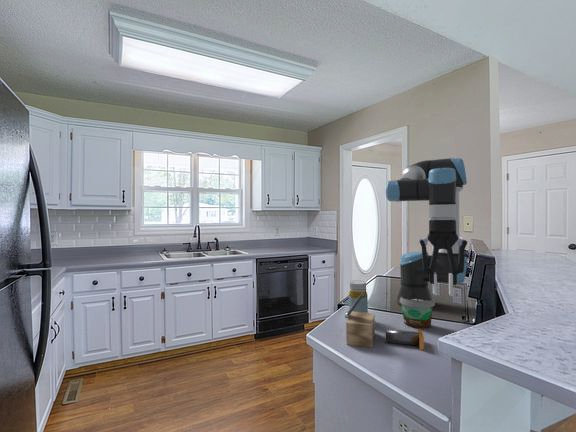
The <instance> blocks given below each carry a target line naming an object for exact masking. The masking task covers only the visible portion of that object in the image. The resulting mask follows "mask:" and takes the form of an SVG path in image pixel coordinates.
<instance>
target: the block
mask: <svg viewBox="0 0 576 432" xmlns="http://www.w3.org/2000/svg"><path fill="white" fill-rule="evenodd" d="M375 321H376V320H375V313H374V312H368V313H366V312H354V311H352V312H351V314H350V315H349V317H348V318H347V320H346V323H345V324H346V325H345V326H346V327H345V330H346V331H345V332H346V333H345V334H346V340H345V341H346V345H347V346H349V345H350V346H357V347H364V348H373V346H374V337H375V329H376V328H375V327H376V326H375Z"/></svg>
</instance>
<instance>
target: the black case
mask: <svg viewBox="0 0 576 432" xmlns="http://www.w3.org/2000/svg"><path fill="white" fill-rule="evenodd" d="M424 338H425V336H424V332H423V329H418V328H417V331H410V330H409V331H408V330H400V329H399V330H398V329H390V328H389V329H387V328H385V343H391V344H399V345H400V344H401V345H409V346H418V349H419V351H424V350H425V349H424V348H425V342H424V341H425V339H424Z"/></svg>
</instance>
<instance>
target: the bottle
mask: <svg viewBox="0 0 576 432" xmlns="http://www.w3.org/2000/svg"><path fill="white" fill-rule="evenodd" d="M362 292H364V296H363V298H362V299H361V300H360V302H359V303H358V304H357V306H356V307H355V308H354V310H353V311H354V312H366V313H369V312H368V310H369V309H368V307H369V305H368V304H369V303H368V298H369V297H368V292H367V281H365V280H350V282H349V293H348V310H349V309H350V308H351V307H352V305H353V304H354V303H355V301H356V300H357V299H358V297H359V296H360V295H361V293H362Z"/></svg>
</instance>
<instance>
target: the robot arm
mask: <svg viewBox="0 0 576 432" xmlns="http://www.w3.org/2000/svg"><path fill="white" fill-rule="evenodd" d="M467 183H468V182H467V174H466V166H465V163H464V160H463V158H460V157H456V158H453V157H450V158H449V157H448V158H439V159H430V160H428V159H427V160H421V161H418V162H416V163H415V162H414V164H411V165H409V166H408V167H406V168H405V169H404V170H403V172H402V176H401V177H399V179H394V180H388V181H387V182H386V185H385V196H386V199H387V201H388V202H396V203H398V202H412V201H413V202H415V201H418V202H419V201H420V202H421V201H423V202H425V201H426V202H428V218H429V219H430V220H429V221H428V234H427V237H425V238H420V239H419V241H418V243H419V244H420V246H421V251H413V252H411V251H410V252H406V253H403V254H402V255H400V261H399V262H400V263H399V266H400V287H399V290H398V294H397V296H396V303H397V304H398V305H400V306H402V304H401V303H400V298H401V297H402V298H404V299H421V300H428V301H431V300H433V298H432V294H431V291H430V288H429V283H430V284H431V285H432V293H433V296H438V285H437V284H439V283H440V284H448V295H449V296H450V297H454V286H457V285H462V284H463V283H464V282H465V279H466V274H467V266H468V257H467V256H466V255H465V254H466V253H465V252H466V251H465V250H466V247H467V245H468V241H467V240H466V239H462V238H460V193H461V191H462V190H463V189H464V186H465V185H467ZM428 242H429V243H430V245H432V247H433V249H432V254H431V255H429V252H428V251H427V250H428V249H427V245H428Z"/></svg>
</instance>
